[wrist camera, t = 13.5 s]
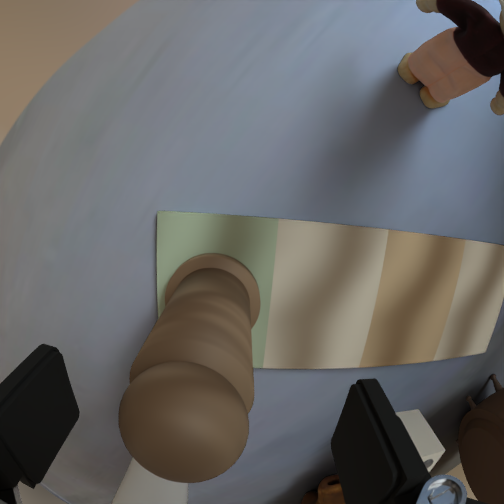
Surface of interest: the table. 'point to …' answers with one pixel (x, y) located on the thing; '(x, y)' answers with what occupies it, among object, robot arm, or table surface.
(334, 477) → the decorative turtle
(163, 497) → the drinking glass
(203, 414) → the pawn
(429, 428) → the die
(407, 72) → the grandmother figurine
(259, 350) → the track board
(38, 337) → the table surface
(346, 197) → the table surface
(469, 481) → the alarm clock
